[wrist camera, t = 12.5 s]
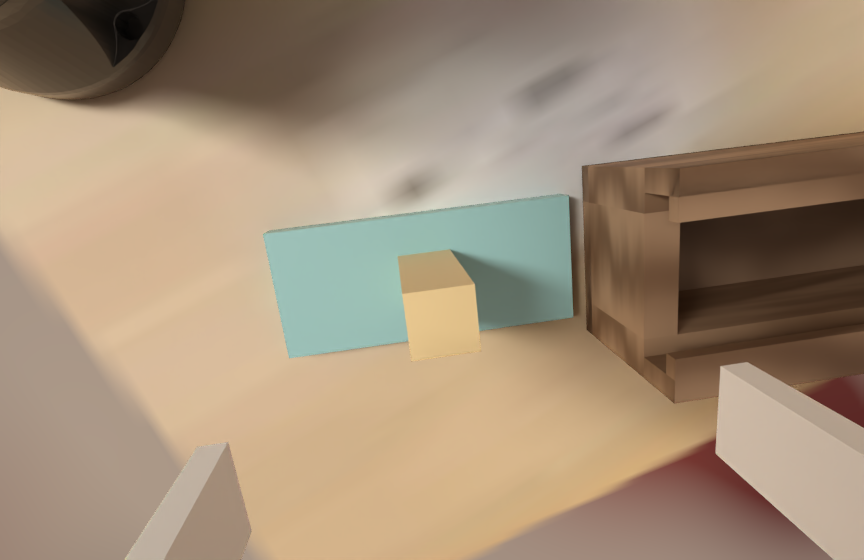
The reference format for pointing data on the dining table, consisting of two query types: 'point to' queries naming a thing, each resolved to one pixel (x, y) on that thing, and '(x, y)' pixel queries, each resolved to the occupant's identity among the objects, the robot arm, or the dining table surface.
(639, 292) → the walnut box
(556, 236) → the cover plate
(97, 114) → the dining table surface
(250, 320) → the dining table surface
